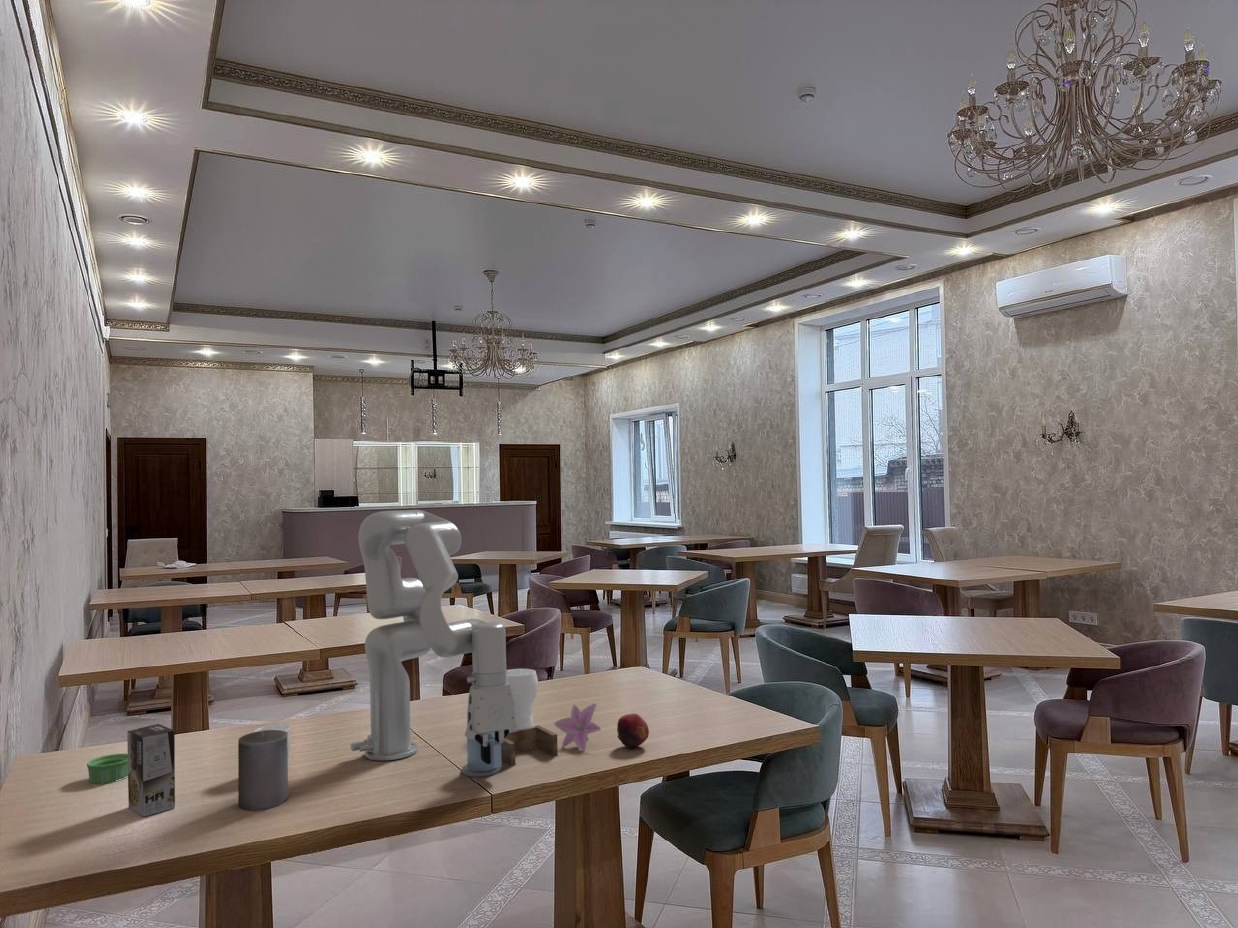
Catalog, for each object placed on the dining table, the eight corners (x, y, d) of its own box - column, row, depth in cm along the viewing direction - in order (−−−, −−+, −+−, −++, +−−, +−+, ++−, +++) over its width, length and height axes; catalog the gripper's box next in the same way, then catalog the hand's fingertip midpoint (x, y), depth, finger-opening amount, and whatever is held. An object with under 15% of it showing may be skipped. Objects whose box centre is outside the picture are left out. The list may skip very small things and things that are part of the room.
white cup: (251, 780, 187) (251, 735, 188) (257, 769, 195) (256, 726, 195) (288, 776, 190) (288, 732, 190) (292, 765, 197) (292, 723, 197)
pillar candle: (231, 802, 174) (230, 730, 174) (277, 789, 181) (276, 720, 181) (249, 814, 167) (248, 740, 167) (296, 801, 174) (295, 729, 174)
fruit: (654, 744, 205) (653, 712, 205) (639, 753, 198) (638, 720, 198) (627, 740, 209) (626, 709, 209) (611, 749, 202) (610, 716, 202)
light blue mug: (483, 779, 180) (482, 743, 180) (462, 764, 190) (462, 729, 190) (512, 773, 184) (511, 737, 184) (490, 758, 194) (490, 724, 194)
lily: (552, 744, 211) (544, 716, 207) (589, 719, 217) (582, 691, 213) (578, 770, 202) (570, 741, 198) (616, 743, 208) (609, 715, 203)
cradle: (510, 765, 192) (510, 743, 192) (493, 755, 200) (493, 734, 201) (557, 755, 199) (557, 734, 199) (539, 745, 207) (538, 725, 207)
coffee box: (176, 808, 171) (175, 729, 172) (142, 817, 167) (142, 737, 167) (160, 798, 177) (159, 722, 178) (127, 807, 173) (126, 729, 173)
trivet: (471, 779, 183) (471, 776, 183) (456, 769, 191) (456, 765, 191) (508, 771, 188) (508, 767, 188) (492, 761, 196) (492, 757, 196)
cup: (536, 733, 218) (535, 675, 218) (496, 734, 218) (495, 677, 218) (541, 722, 228) (539, 667, 229) (503, 722, 229) (501, 668, 229)
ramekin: (92, 775, 194) (91, 756, 195) (135, 769, 198) (135, 751, 198) (82, 787, 186) (82, 767, 186) (128, 781, 189) (127, 762, 189)
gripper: (463, 687, 178) (464, 773, 177) (528, 676, 186) (530, 758, 186) (450, 680, 184) (452, 764, 184) (514, 670, 193) (516, 750, 192)
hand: (491, 760), depth 185 cm, fingers closed on light blue mug
